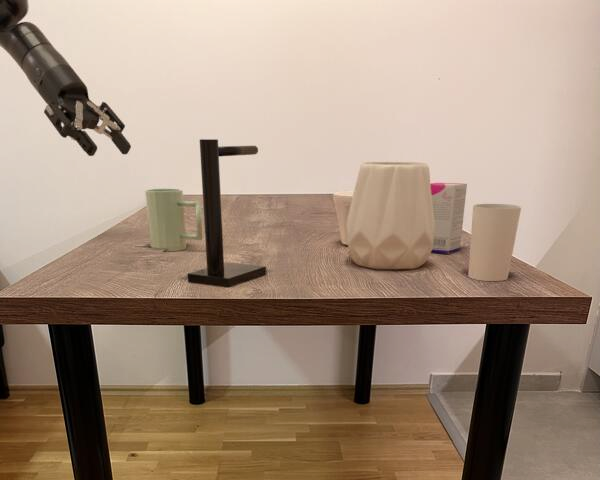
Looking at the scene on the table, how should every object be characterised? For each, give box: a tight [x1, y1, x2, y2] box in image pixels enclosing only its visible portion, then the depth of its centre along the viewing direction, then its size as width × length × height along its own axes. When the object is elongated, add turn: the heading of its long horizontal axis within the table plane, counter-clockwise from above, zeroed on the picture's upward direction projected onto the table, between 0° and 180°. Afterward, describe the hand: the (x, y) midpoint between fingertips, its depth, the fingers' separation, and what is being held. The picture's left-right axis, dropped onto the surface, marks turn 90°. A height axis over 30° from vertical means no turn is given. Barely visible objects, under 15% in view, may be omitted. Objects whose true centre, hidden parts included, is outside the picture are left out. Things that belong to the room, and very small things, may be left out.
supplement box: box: [430, 182, 468, 255], centre depth 113 cm, size 6×6×12 cm
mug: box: [144, 188, 203, 253], centre depth 113 cm, size 11×6×10 cm, turn 62°
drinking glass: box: [467, 203, 522, 282], centre depth 93 cm, size 7×7×10 cm
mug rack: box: [187, 138, 267, 288], centre depth 91 cm, size 14×7×18 cm, turn 152°
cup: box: [332, 190, 354, 247], centre depth 119 cm, size 10×10×9 cm
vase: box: [346, 161, 435, 271], centre depth 101 cm, size 14×14×15 cm
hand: (111, 151), depth 114 cm, fingers open, 8 cm apart
